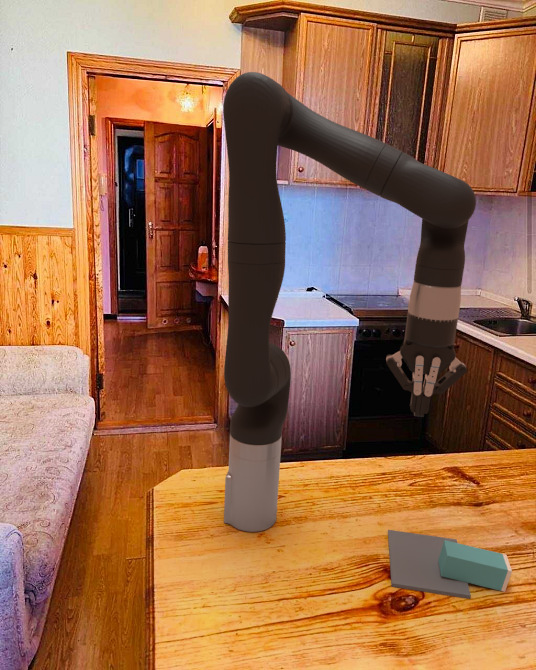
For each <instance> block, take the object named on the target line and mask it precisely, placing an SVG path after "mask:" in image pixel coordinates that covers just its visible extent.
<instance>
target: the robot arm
mask: <svg viewBox="0 0 536 670" xmlns="http://www.w3.org/2000/svg"><path fill="white" fill-rule="evenodd" d="M222 105H223V106H222V107H223V108H222V113H223V123H224V126H223V127H224V133H225V142H226V152H227V161H228V163H227V164H228V201H227V207H228V208H227V212H228V213H227V215H228V216H227V267H228V271H227V273H228V275H227V276H228V289H227V290H228V291H227V292H228V296H227V297H228V299H227V300H228V302H227V304H228V305H227V307H228V325H227V334H226V335H227V338H226V346H225V347H226V348H225V356H224V368H223V379H224V380H223V381H224V384H225V388H226V390H227V392H228V395H229V396H230V397H231V399H232V400H233V401H234V402H235V403H236V404H237V406H236V408H235V410H234V411H233V413H232V416H231V418H230V421H229V423H230V424H229V447H228V448H229V450H228V452H229V453H228V470H227V472H226V475H225V479H224V481H225V483H224V485H225V486H224V504H223V505H224V507H223V508H224V511H223V523H224V524H228V525H231V526H232V527H233V528H236V529H237V530H240V531H243V532H250V533H252V532H253V533H254V532H255V533H256V532H262V531H265V530H268V529H270V528H271V527H272V526H274V524H275V523H276V521H277V512H278V498H279V484H280V468H281V453H282V452H281V451H282V435H283V426H284V424H285V422H286V419H287V414H288V410H289V401H290V400H289V399H290V391H291V383H292V381H291V378H292V377H291V376H292V373H291V364H290V361H289V359H288V356H287V354H286V353H285V351H284V350H283V349H282V348H281V347H280V346H278V345H277V344H275V343H272V342H270V329H271V321H272V319H273V317H272V316H273V313H274V311H275V308H276V306H277V305H276V304H277V301H278V299H279V295H280V291H281V288H282V285H283V280H284V276H285V269H286V247H287V246H286V241H287V239H286V238H287V237H286V236H287V235H286V234H287V233H286V222H285V216H284V215H285V214H284V210H283V206H282V205H283V204H282V201H281V200H282V199H281V195H280V192H279V191H280V190H279V186H278V178H277V177H278V176H277V175H278V174H277V160H278V159H277V158H278V146H279V147H282V148H285V149H287V150H288V149H289V150H292V151H294V152H297V153H298V154H302V155H304V156H306V157H307V158H310V159H312V160H314V161H316V162H318V163H319V164H321V165H323V166H324V167H326V168H328V169H329V170H331V171H332V172H334V173H335V174H337V175H339V176H340V177H342V178H344V180H347V181H349V182H350V183H353V184H354V185H356V186H358V187H360V188H362V189H364V190H366V191H368V192H370V193H371V194H374V195H376V196H378V197H380V198H382V199H385V200H387V201H389V202H393V203H395V204H397V205H399V206H400V207H402V208H404V209H405V210H407V211H409V212H410V213H412V214H414V215H416V216H417V217H419V218H421V228H420V229H421V230H420V243H419V246H418V247H419V248H418V252H417V255H416V261H415V267H414V275H413V283H412V287H411V290H410V295H409V301H408V305H407V307H408V308H407V309H408V310H407V316H406V324H405V332H404V340H403V342H402V343H401V345H400V346H399V351H397V352H395V353H394V354H387V355H386V357H385V360H386V365H387V367H388V368H389V370H390V371H391V373H392V374H393V376H394V378H395V379H396V380H397V382H398V383H399V384H400V387H402V389H403V390H404V391H408V392H410V393H411V396H410V403H409V408H410V412H411V413H413V416H414V417H421V418H424V417H425V415H427V414H428V413H429V411H430V403H431V398H432V396H433V395H435V394H436V395H437V394H439V395H443V394H444V393H445V392H447V390H448V389H450V388H451V387H452V386H453V385H454V384H456V382H458V381H459V380H460V379H461V378H462V377H463V376H464V375H465V374H466V373H467V372H468V369H467V366H466V364H465V363H464V362H463V361H460V360H459V359H458V358H457V357H456V356H457V353H456V351H455V349H454V348H455V347H454V346H455V341H456V340H455V339H456V335H457V334H456V333H457V327H458V320H459V314H460V308H461V303H462V302H461V301H462V300H461V299H462V298H461V297H462V284H463V276H464V271H465V262H466V252H465V250H466V249H465V245H466V244H465V243H466V237H467V232H468V226H469V220H471V218H472V216H473V214H475V213H474V212H475V210H476V207H477V206H476V205H477V199H476V194H475V192H474V190H473V188H472V187H471V185H469V184H468V183H467V182H466V181H464V180H463V179H460V178H458V177H456V176H454V175H451V174H449V173H447V172H445V171H442V170H439V169H438V168H435V167H432V166H430V165H427V164H424V163H422V162H420V161H419V160H417V159H416V158H415V157H413V156H412V155H410V154H408V153H406V152H405V151H404V152H403V150H400V149H399V148H396V147H394V146H392V145H390V144H389V143H386V142H383V141H382V140H379V139H377V138H375V137H373V136H370V135H368V134H366V133H362V132H360V131H357V130H355V129H352V128H349V127H347V126H345V125H342V124H339V123H338V122H334V121H332V120H330V119H328V118H327V117H325V116H322V115H321V114H319V113H317V112H315V111H314V110H312V109H311V108H309V107H308V106H307V105H305V104H303V103H302V102H301V101H299V100H298V99H296V97H294V96H293V95H291V93H289V92H287V90H286V89H285V88H284V87H283V86H282V85H281V84H280V83H278V82H277V81H275V80H274V79H273V78H272V77H269V76H268V75H265V74H264V73H260V72H256V71H248V72H244V73H242V74H240V75H238V76H237V77H236V78H234V80H232V81H231V83H230V84H229V86H228V88H227V90H226V92H225V96H224V98H223V104H222ZM402 359H403V361H404V362H405V364H406V365H407V367H408V369H409V371H411V373H412V380H409V378H408V377H407V375H406V373H405V372H404V370H403V368H402V364H403V362H402ZM446 368H448V369H449V370H448V371H447V372H446V373H445V374H444V375H443V376H442V377H440V378H439V379H438V380H437V377H438V375H441V374H442V372H443V371H444V370H445V369H446ZM423 375H424V381H423Z"/></svg>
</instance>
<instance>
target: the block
mask: <svg viewBox="0 0 536 670" xmlns="http://www.w3.org/2000/svg"><path fill="white" fill-rule="evenodd" d="M438 561H439V567H440V572H441V576H443V577H447V578H451V579H455V580H459V581H463V582H467V583H468V584H472V585H476V586H480V587H483V588H488V589H493V590H496V591H500V592H504V593H505V592H506V590H507V586H508V584H509V582H510V581H509V580H510V579H511V575H512V573H513V570H512V567H511V564H510V561H509V559H508V556H507V554H505V553H501V552H496V551H492V550H488V549H483V548H480V547H475V546H471V545H466V544H464V543H463V544H462V543H459V542H457V543H455V542H451V541H446V540H444V543H443V546H442V549H441V553H440V556H439V559H438Z"/></svg>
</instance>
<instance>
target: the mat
mask: <svg viewBox="0 0 536 670" xmlns="http://www.w3.org/2000/svg"><path fill="white" fill-rule="evenodd" d="M387 538H388V539H387V541H388V551H389V552H388V553H389V554H388V555H389V556H388V557H389V567H390V571H389V572H390V582H391V583H390V585H391V588H392V587H393V588H398V589H399V588H400V589H404V590H405V589H406V590H412V591H418V592H425V593H431V594H436V595H437V594H438V595H442V596H450V597H458V598H461V599H462V598H463V599H469V600H470V599H471V591H470V587H469V583H467V582H463V581H459V580H455V579H451V578H447V577H443V576H441V572H440V567H439V561H438V559H439V556H440V553H441V549H442V546H443V543H444V540H446V541H451V542H455V543H458V540H457V538H456V539H455V538H451V537H450V538H449V537H445V536H444V537H442V536H436V535H429V534H422V533H414V532H407V531H402V530H401V531H400V530H393V529H388V530H387Z"/></svg>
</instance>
